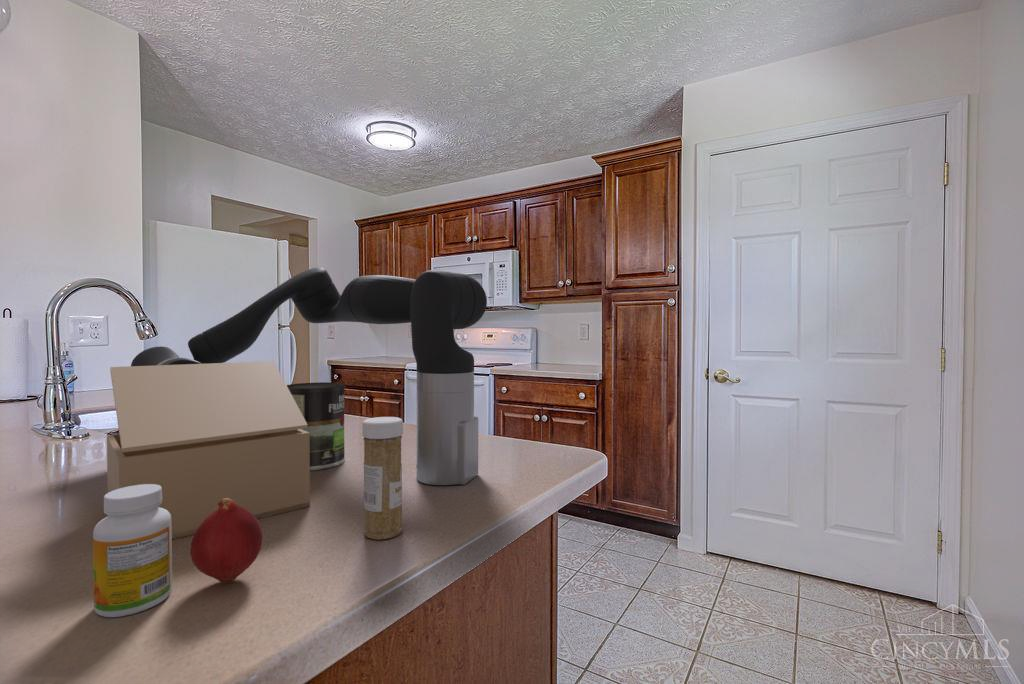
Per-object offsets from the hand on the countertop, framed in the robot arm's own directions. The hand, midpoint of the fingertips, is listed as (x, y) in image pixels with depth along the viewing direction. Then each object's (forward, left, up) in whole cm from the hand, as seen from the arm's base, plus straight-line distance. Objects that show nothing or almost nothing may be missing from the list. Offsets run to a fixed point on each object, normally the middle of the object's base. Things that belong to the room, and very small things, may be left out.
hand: (203, 390), depth 66 cm
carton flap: (-4, +2, -1) cm, 5 cm away
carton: (-3, +2, -16) cm, 16 cm away
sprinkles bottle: (-29, +2, -16) cm, 33 cm away
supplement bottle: (-16, +21, -16) cm, 31 cm away
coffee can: (-1, -21, -16) cm, 26 cm away
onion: (-21, +16, -16) cm, 31 cm away
